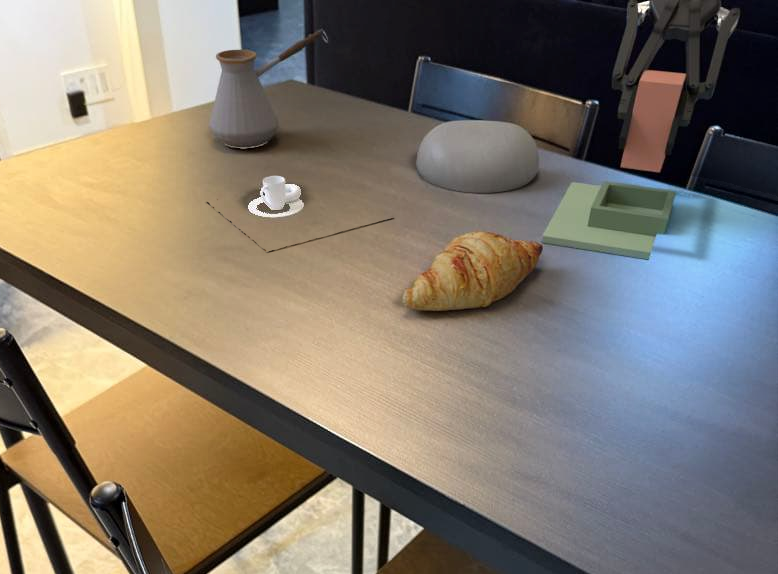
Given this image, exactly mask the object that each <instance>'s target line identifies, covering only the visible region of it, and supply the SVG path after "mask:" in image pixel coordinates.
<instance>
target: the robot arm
mask: <svg viewBox="0 0 778 574" xmlns="http://www.w3.org/2000/svg"><path fill="white" fill-rule="evenodd" d="M647 15H649V18H650V19H651V21H652V24H653V29H652V31H651V34H650V35H649V37H648V39H647V40H646V43H645V44H644V45H643V47H642V49H641V51H640V53H639V55H638V57H637V59H636V60H635V61H634V64H633V66H632V67H631V69H630V71H629V73H628V74H626V70H627V68H628V64H629V61H630V57H631V55H632V51H633V47H634V44H635V40H636V37H637V34H638V33H637V31H638V26H641V24H642V23H643V22H644V21H645V17H646V16H647ZM740 15H741V9H740V8H739V7H733V8H731V9H727V8H725V7H722V2H721V0H647V1H643V2H638V0H629V1H628V2H627V7H626V17H625V19H626V26H625V30H624V32H623V36H622V40H621V43H620V47H619V50H618V52H617V53H618V54H617V56H616V60H615V64H614V67H613V70H612V77H611V88H612V89H613V90H616V91H617V90H619V91H620V92H621V93H622V94H621V97H620V100H619V105H618V108H617V119H619V120H623V124H622V127H621V130H620V135H619V138H618V146H617V147H618V149H619V150H624V149H625V145H626V140H627V136H628V131H629V127H630V122H631V118H632V113H633V108H634V104H635V99H636V95H637V90H638V86H639V81H640V79H641V77H642V75H643V73H644V71H645V70H649V67H650V65H651V64H652V61H653V60H654V58H655V56H656V54H657V53H658V51H659V49H661V47H662V46H663V44H664V43H665V41H666V40H678V41H680V42H681V41H682V42H685V59H686V60H685V74H686V78H685V90H682V91H681V95H680V98H679V102H678V105H677V109H676V113H675V116H674V119H673V123H672V126H671V130H670V134H669V137H668V141H667V145H666V149H665V156H667V155H668V156H671V155H672V152H673V151H672V150H673V147H674V144H675V140H676V137H677V134H678V131H679V127H683V128H684V127H685V128H686V127H688V125H689V124H690V123H691V119H692V115H693V113H694V107H695V105H696V103H697V102H698V101H699V100H710V99H712V98H713V95H714V93H715V88H716V86H717V81H718V78H719V74H720V70H721V66H722V62H723V59H724V54H725V52H726V48H727V43H728V40H729V38H730V37H731V36H732V34H733V32H734V31H735V30H736V28H737V25H738V22H739V18H740ZM714 21H716V26H715V29H716V31H717V33H718V35H717V38H716V42H715V45H714V49H713V52H712V57H711V61H710V64H709V68H708V72H707V76H706V79H705V81H704V82H700V54H701V53H700V50H701V49H700V47H701V45H700V43H701V42H700V41H701V40H700V39H701V38H700V37H701V32H702V31H704V29H706V28H707V27H708V26H709V25H710V24H711V23H712V22H714Z"/></svg>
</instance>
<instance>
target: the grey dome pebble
mask: <svg viewBox="0 0 778 574" xmlns="http://www.w3.org/2000/svg"><path fill="white" fill-rule="evenodd" d="M539 155H540V154H539V149H538V146H537V143H536V140H535V139H534V137H532V135H531V134H530V133H529V132H528V131H527V130H526V129H525V128H523V127H521V126H520V125H518V124H515V123H512V122H506V121H499V120H498V121H497V120H484V119H483V120H481V119H480V120H479V119H467V120H464V119H463V120H451V121H446V122H445V121H444V122H442V123H441V124H439V125H437V126H435V127H434V128H433V129H431V130H430V131H428V133H427V134H426V135H425V136H424V137H423V139H422V141H421V143H420V145H419V148H418V151H417V155H416V162H415V165H416V168H417V172H418V173H419V174H420V176H421V177H422V178H423V179H424V180H425V181H427V182H428V183H431V184H432V185H434V186H436V187H440V188H442V189H446V190H450V191H455V192H462V193H472V194H474V193H475V194H492V193H501V192H507V191H508V192H509V191H512V190H517V189H519V188H521V187H523V186H526V185H528V184H529V183H530V182H531V181H533V179H534V178H535V177H536V176H537V173H538V172H539V169H540V156H539Z"/></svg>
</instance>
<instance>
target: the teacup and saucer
mask: <svg viewBox="0 0 778 574" xmlns="http://www.w3.org/2000/svg"><path fill="white" fill-rule="evenodd" d="M285 183H286V178H284V177H283V176H280V175H269V176H266V177H264V178H262V187H261V191H260V195H261V197H259V198H257V199H254V200H253V201H251V202H250V203H249V205H248V209H249V211H250V212H251V213H253V214H255V215H258V216H262V217H270V218H277V217H285V216H290V215H293V214H295V213H298V212H299V211H301V210H302V209H303V207H304V203H303V202H302V200H300V199H299V197H300V195H301V189H300V187H299V186H297V185H295V184H285ZM263 192H264V193H265V196H264V195H263ZM263 202H264V203H265V204H266V205H267V206H268V207H269V208H270V209H271V210H281V209H283V207H284V205H285V203H286V204H289V206H290V209H289V211H287V212H283V213H278V214H269V213H268V214H267V213H265V212H264V213H263V212H261V211H259V210H257V209H258V208H257V205H259V204H260V203H263ZM256 208H257V209H256Z"/></svg>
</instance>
